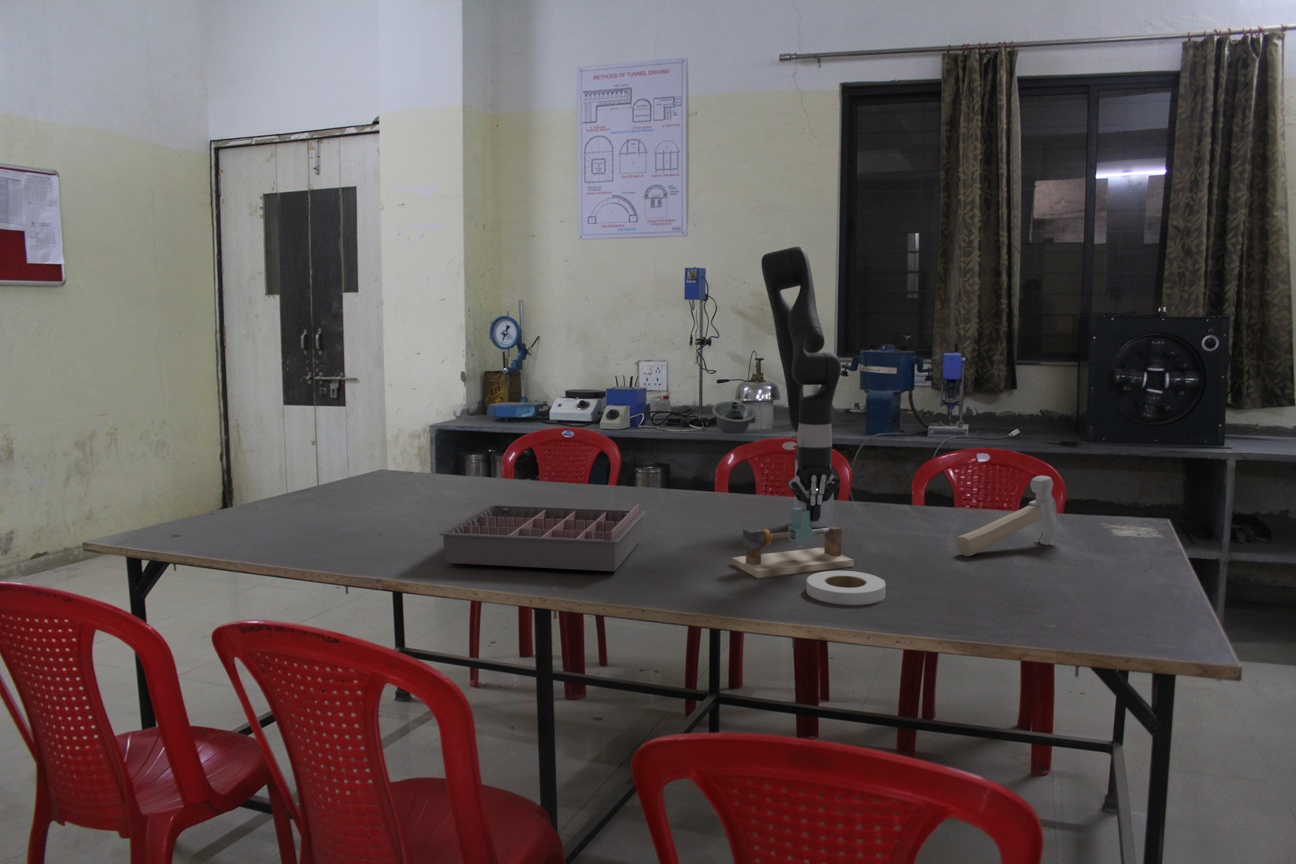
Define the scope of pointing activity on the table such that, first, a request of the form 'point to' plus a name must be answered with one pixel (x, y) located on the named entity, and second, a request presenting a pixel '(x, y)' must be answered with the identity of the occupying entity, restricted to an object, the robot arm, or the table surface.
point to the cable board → (790, 554)
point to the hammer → (1017, 521)
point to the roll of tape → (846, 587)
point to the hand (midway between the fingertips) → (813, 520)
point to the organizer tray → (545, 537)
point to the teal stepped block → (800, 525)
